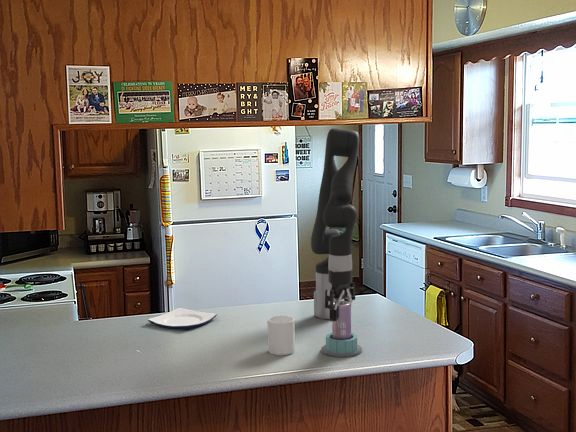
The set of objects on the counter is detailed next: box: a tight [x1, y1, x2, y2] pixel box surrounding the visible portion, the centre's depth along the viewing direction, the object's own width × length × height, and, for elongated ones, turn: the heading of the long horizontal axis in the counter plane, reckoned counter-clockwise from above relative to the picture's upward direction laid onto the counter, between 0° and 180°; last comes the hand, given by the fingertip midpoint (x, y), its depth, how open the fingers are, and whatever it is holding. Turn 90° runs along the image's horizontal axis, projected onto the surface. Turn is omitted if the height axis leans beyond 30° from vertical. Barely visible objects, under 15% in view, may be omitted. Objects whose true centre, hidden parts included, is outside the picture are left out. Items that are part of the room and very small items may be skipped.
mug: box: [266, 315, 296, 356], centre depth 231 cm, size 9×12×11 cm
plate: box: [147, 307, 218, 330], centre depth 266 cm, size 20×20×3 cm
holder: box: [321, 332, 363, 359], centre depth 230 cm, size 13×13×5 cm
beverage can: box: [331, 300, 352, 340], centre depth 229 cm, size 6×6×15 cm
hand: (340, 317), depth 229 cm, fingers open, 8 cm apart
